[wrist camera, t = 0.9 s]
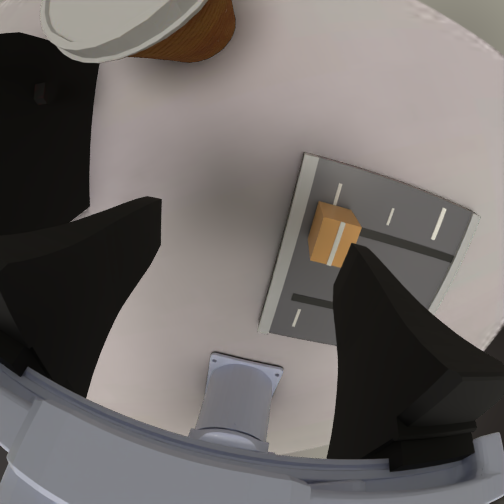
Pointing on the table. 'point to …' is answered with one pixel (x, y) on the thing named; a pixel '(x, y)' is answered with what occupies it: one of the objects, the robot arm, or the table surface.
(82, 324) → the robot arm
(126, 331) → the table surface
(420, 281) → the fader board
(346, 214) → the block
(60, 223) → the uninterruptible power supply
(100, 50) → the disposable coffee cup
